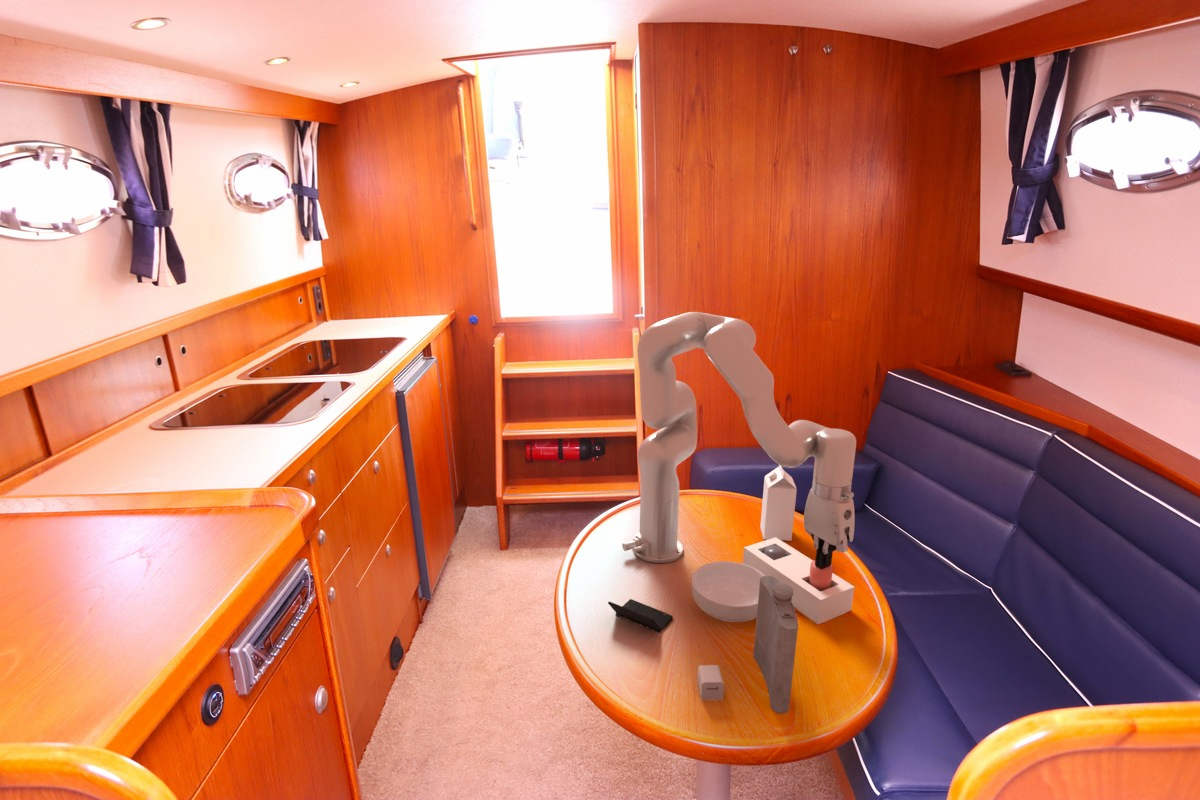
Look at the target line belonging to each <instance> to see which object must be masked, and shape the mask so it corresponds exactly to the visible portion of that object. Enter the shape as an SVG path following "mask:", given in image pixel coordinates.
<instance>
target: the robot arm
mask: <svg viewBox="0 0 1200 800" xmlns="http://www.w3.org/2000/svg"><path fill="white" fill-rule="evenodd" d="M756 342H757V335H756V332H755V330H754V328H753V327H752V326H751V325H750V324H749V323H748V322H747V321H745V320H742V319H740V318H736V317H735V318H734V317H729V316H723V315H717V314H711V313H706V312H700V311H689V312H685V313H682V314H679V315H674V316H672V317H671V316H670V317H667V318H665V319H663V320H659V321H658V322H656V323H654V324H652V325H651V326H648V327H647V328H646V329H645V330H644V332H642V334H641V335H640V337H639V340H638V343H637V349H636V351H637V352H636V353H637V361H638V363H637V364H638V369H639V371H638V373H639V393H640V394H639V395H640V411H641V413H640V414H641V417H642V421H643V422H644V424H645V425H646V426H647V427H649V428H650V429H653V430H656V431H654V432H653V433H651V434H650V435H648V436H647V437H646V438H644V440H643V441H642V442H641V443H640V445H639V446H638V449H637V456H636V457H637V464H638V470H639V477H640V480H639V481H640V489H639V490H640V492H639V493H640V494H639V495H640V497H639V499H640V501H639V532H638V533H636V534H635V538H632V540H631V541H628V542H627V541H626V542H624V543H622V546H621V547H622V549H623V551H624V552H625V551H626V552H627V551H630V550H632V553H633V554H634V555H636V557H638V558H639V559H640V560H643V561H646V562H649V563H655V564H664V563H665V564H666V563H671V562H674V561H676V560H678V559H680V558H681V556H682V555H683V553H684V546H683V544H682V542H681V541H680V540H679V539H678V534H679V533H678V531H679V510H680V509H679V506H680V481H679V478H678V474H677V466H678V465H680V464H681V463H682V462H684V461H686V459H688V458H689V457H691V456H692V455H693V454H694V453H695V450H696V448H697V443H698V418H697V417H698V415H697V413H698V412H697V400H696V396H695V394H694V392H693V389H692V388H691V387H690V386H689V385H688V384H687V383H686V382H683V381H680V380H677V372H676V371H677V370H676V366H675V364H674V362H673V359H672V358H674V357H675V356H678V355H682V354H684V353H686V352H690V351H691V350H694V349H703V351H704V353H705V355H706V356H707V358H708V359H709V361H710V362H711V363H712V364H713V366H714V367H715V368H716V369H717V370H718V372H719V373H720V375H721V376H722V377H723V379H724V380H725V381H726V383H727V384H728V385H729V387H731V389H732V391H734V392H735V394H736V395H737V397H738V398H739V400H740V402H741V407H742V410H743V414H744V417H745V420H746V422H747V425H748V427H749V430H750V431H751V434H752V435H753V437H754V439H756V442H757V443H758V444H759V445H760V447H762V449H763V451H764V452H765V453H766V455H768V456H769V457H770V459H772V461H774V462H775V463H776V464H777V465H778V466H779V465H781V467H782V468H783V467H784V468H788V469H790V468H791V469H792V468H797V467H799V466H800V465H802V464H804V463H805V461H807V460H808V458H810V457H813V458H814V464H813V465H814V466H813V467H814V468H813V477H812V485H811V488H810V489H809V493H808V495H807V499H806V503H805V507H804V514H803V527H804V530H805V532H806V533H807V534H808V535H809V536H810V537H811V539H812V541H813V547H814V549H816V551H815V559H814V561H815V566H816V567H819V569H824V568H827V567H829V566H831V565H832V563H833V562H832V560H833V552H835V551H836V552H838V553H846V552H848V550H849V549H848V548H849V546H848V542H849V543H850V542H851V543H852V542H853V540H854V536H855V535H854V534H855V517H856V516H855V506H854V504H855V503H854V499H853V498H854V496H855V493H854V492H852V483H853V482H852V481H853V474H854V465H855V457H856V448H857V438H856V436H855V435H854V434H853V433H852V432H851V431H848V430H846V429H843V428H830V427H827V426H824V425H821V424H819V423H816V422H813V421H810V420H806V419H797V420H795V421H793V422H792V423H790V424H789V425H788V424H787V422H786V421H785V420H784V419H783V417H782V416H781V413H780V412H779V410H778V408H777V405H776V402H775V398H774V397H775V396H774V395H775V394H774V391H775V390H774V389H775V388H774V387H775V378H774V375H773V373H772V371H770V369H769V368H768V367H767V365H766V364H765V362H763V361H762V359H761V358H760V357H759V355H758V354H757V353H756V352H755V350H754V348H755V345H756Z"/></svg>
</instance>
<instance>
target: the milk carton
mask: <svg viewBox="0 0 1200 800" xmlns="http://www.w3.org/2000/svg"><path fill="white" fill-rule="evenodd" d="M763 481H764V482H763V493H762V502H761V513H760V514H761V516H760V526H759V527H760V531H761V534H762V538H763V540H768V539H772V538H775V537H776V538H778V539H779V540H781V541H784V542H786V541H788V542H789V541H790V542H792V541H793V540H792V539H793V538H792V537H793V529H794V519H795V512H796V511H795V509H796V508H795V507H796V502H797V501H796V500H797V499H796V498H797V489H798V488H797V486H796V483H795V482H794V479H793V476H791V475H790V474H788V473H787V472H786V471H785V470H784V469H783V466H781V465H779V464H778V466H777V467H776V468H774V469H773V470H771V471H770V472H769V473H767V474H766V475H764V480H763Z"/></svg>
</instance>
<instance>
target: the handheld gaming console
mask: <svg viewBox="0 0 1200 800" xmlns="http://www.w3.org/2000/svg"><path fill="white" fill-rule="evenodd" d="M607 604H608V605H609V607H611V609H612V610H613V612H615V616H616V617H619V618H621V619H624V620H627V621H629V622H631V623H633V624H637V625H639V626H641V627H643V628H646V629H647V628H648V629H649V630H651V631H652V632H655V633H656V634H661V633H662V631H663V630H664V629H665V628H667V627H668V625H669V624H670V623H671V622H672V621H673V618H674V615H672V614H671V613H670V614H669V613H667V612H664V611H663V610H660V609H657V608H654V607H652V606H650V605H647V604H644V603H642V602H639V601H638V600H634V599H632V598H630V599H629V600H628V601H626V602H625V603H624V605H619V604H617V603H614V602H612V601H608V603H607Z"/></svg>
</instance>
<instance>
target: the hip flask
mask: <svg viewBox="0 0 1200 800" xmlns="http://www.w3.org/2000/svg"><path fill="white" fill-rule="evenodd" d="M792 596H793V588H792V587H791V586H789V585H787V584H782V583H779V582H778V580H777V579H776V578H774V577H772V576H762V577H761V578H760V586H759V597H758V608H757V617H756V619H755V621H756V623H755V633H754V634H755V635H754V644H753V646H754V647H753V656H752V657H753V659H754V660H753V661H755V663H756V664H757V667H759V669H760V671H761V674H762V676H763V679H764V682H765V684H766V687H767V690H768V691H767V692H768V696H769V703H770V705H769V706H770V708H771V710H772V711H773V712H775V713H776V714H783V715H784V714H787V713H788V712H789V710H790V703H791V693H792V682H793V674H794V667H795V666H794V665H795V658H796V657H795V656H796V647H797V638H798V632H799V631H798V629H799V621H798V617H797V616H798V615H797V613H796V610H795V609H796V608H794V607H793V604H792V602H791V599H792Z"/></svg>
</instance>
